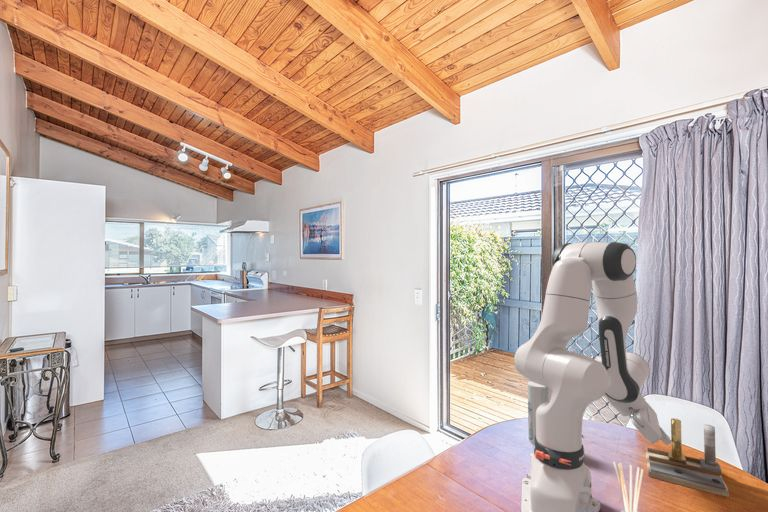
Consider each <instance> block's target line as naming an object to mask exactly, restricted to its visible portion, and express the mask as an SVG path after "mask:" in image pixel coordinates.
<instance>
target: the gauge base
mask: <svg viewBox="0 0 768 512" xmlns="http://www.w3.org/2000/svg"><path fill="white" fill-rule="evenodd" d="M703 443H704V444H703V449H704V450H703V451H704V452H703V453H704V456H703V458H702V457H701V458H695V457H692V456H687V455H685V458H686V464H684V463H680V462H676V461H671V460H669V459H668V451H664V450H661V449H656V448H652V447H647V449H645V458H646V465H647V475H648V477H650V478H654V479H657V480H661V481H665V482H668V483H669V482H670V483H672V484H677V485H681V486H683V487H688V488H692V489H696V490H700V491H702V492H703V491H704V492H707V493H712V494H715V495H719V496H723V497H726V498H729V497H730V495H729V494H730V493H729V489H728V487H727V485H726V483H725V480H724V478H723V476H722V468H721V466H720V464H719V462H718V461H716V459H717V458H716V457H717V456H716V455H717V454H716V427H715V426H713V425H711V424H703Z"/></svg>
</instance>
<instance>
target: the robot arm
mask: <svg viewBox="0 0 768 512" xmlns="http://www.w3.org/2000/svg"><path fill="white" fill-rule="evenodd" d="M551 265H552V269H551V271H550V274H549V278H548V281H547V286H546V290H545V297H544V301H543V302H544V303H543V308H542V313H541V318H540V321H539V325H538V327H537V329H536V330H535V332H534V334H533V335H532V337H530V339H528V340H527V341H526V342H524V343H523V344H521V345H520V346H519V347H517V349H516V351H515V354H514V358H513V361H514V362H513V363H514V367H515V370H516V371H517V372H518V373H519V374H520V375H521V376H523V377H524V378H526V379H527V380H528V381H532V382H535V383H537V384H540V385H543V386H545V387H548V389H550V391H551V396H550V400H548V401H547V402H544V403H542V404H541V405H540V406H539V407H538V408H537V410H536V436H535V440H534V445H533V452H531V453H530V455H529V457H530V458H529V459H530V460H529V465H530V473H529V472H528V473H527V474H526V477H523V478H522V480H521V496H520V497H521V499H520V500H521V501H520V502H521V503H520V512H580V511H582V510H590V511H595V512H596V511H598V512H599V511H600V509H601V503H600V501H599V500H598V499H596V498H595V497H594V496H593V490H592V489H593V487H592V486H593V485H592V472H591V469H590V468H589V467H588V466H587V465H586V464H585V449H584V445H583V442H582V441H583V436H582V435H583V434H582V432H583V419H584V415H585V412H586V410H587V408H589V406H590V405H591V404H592V403H593V402H595V401H599V400H600V399H601V398H603V397H605V398H606V399H607V401H608V402H609V404H610V405H611V406H612V407H613V408H614V409H615V410H616V411H617V412H618V413H619V414H620V415H621V416H622V417H628V418H630V421H631V423H632V425H633V426H634V427H635V428H636V429H637V431H638V432H639V433H640V434H641V435H642V436H643V437H644V438H645V439H646V440H647V441H648V442H649V443H650V444H655V443H657V442H659V441H661V442H662V443H663V444H664V445H665V446H669V445H670V444H671V436H669V435H668V434H666V432H665V431H664V429H663V428H662V427H661V426H660V423H659V418H658V414H657V413H656V411H655V410H654V409H653V407H652V406H651V405H650V404H649V403H648V402H647V401H646V398H645V397H644V396H643V395H642V394H641V392H640V391H641V390H642V387H643V386H644V384H645V383H646V380H647V378H648V377H649V375H650V372H651V371H650V365H649V363H648V362H647V360H646V359H645V358H643V356H640V355H639V354H637V353H635V352H629V351H627V349H626V340H627V334H628V332H629V329H630V327H631V325H632V323H633V322H634V320H635V318H636V315H637V313H638V312H637V311H638V300H639V299H638V293H637V288H636V282H635V280H634V277H633V274H634V273H635V271H636V268H637V256H636V253H635V251H634V249H633V248H631V246H630V245H628V243H624V242H617V241H613V242H603V241H581V242H575V243H572V242H569V243H563V244H561V245H558V246H557V247H556V248H555V250H554V251H553V254H552V257H551ZM592 292H593V297H594V298H593V299H594V303H595V308H596V309H595V310H596V317H597V321H598V322H597V325H598V339H599V347H600V356H599V355H596V356H593V357H590V356H587V355H585V354H583V353H578V352H574V351H570V350H566V348H567V345H568V343H569V342H570V340H572V339H573V338H574V337H577V336H580V335H582V334H584V332H585V331H586V330H587V327H588V321H589V313H590V308H591V307H590V305H591V298H592V297H591V296H592Z"/></svg>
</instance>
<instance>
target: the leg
mask: <svg viewBox="0 0 768 512" xmlns="http://www.w3.org/2000/svg"><path fill="white" fill-rule="evenodd" d="M670 432H671V433H670V434H671V435H670V441H671V443H670V444H671V447H670V448H671V451H669V450H667V452H668V459H669V460H671V461H676V462H680V463H684V464H686V458H685V456H686V455H685V454H683V453H682V451H683V449H682V448H683V447H682V446H683V445H682V444H683V443H682V420H681V419H678V418H674V417H673V418H670Z"/></svg>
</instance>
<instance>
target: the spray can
mask: <svg viewBox="0 0 768 512" xmlns="http://www.w3.org/2000/svg"><path fill="white" fill-rule="evenodd" d="M547 401H549V388H548V387H545V386H543V385H540V384H537V383H535V382H532V381H530V380H528V382H527V412H528V413H527V415H528V418H527V419H528V442H529V441H530V442H531V443H530V442H529V443H530V444H531V445H533V446H534V440H535V436H536V410H537V408H538V407H539V406H540V405H541V404H542V403H544V402H547Z"/></svg>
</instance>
